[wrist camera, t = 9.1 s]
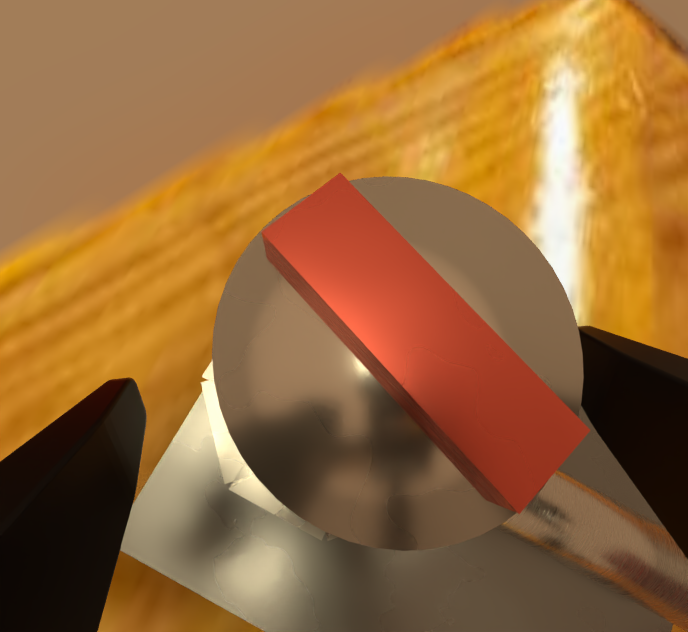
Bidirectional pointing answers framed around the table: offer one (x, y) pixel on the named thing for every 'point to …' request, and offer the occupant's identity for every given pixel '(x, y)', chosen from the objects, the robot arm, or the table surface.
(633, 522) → the metal plate with ring
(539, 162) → the table surface
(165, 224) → the table surface
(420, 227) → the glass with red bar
